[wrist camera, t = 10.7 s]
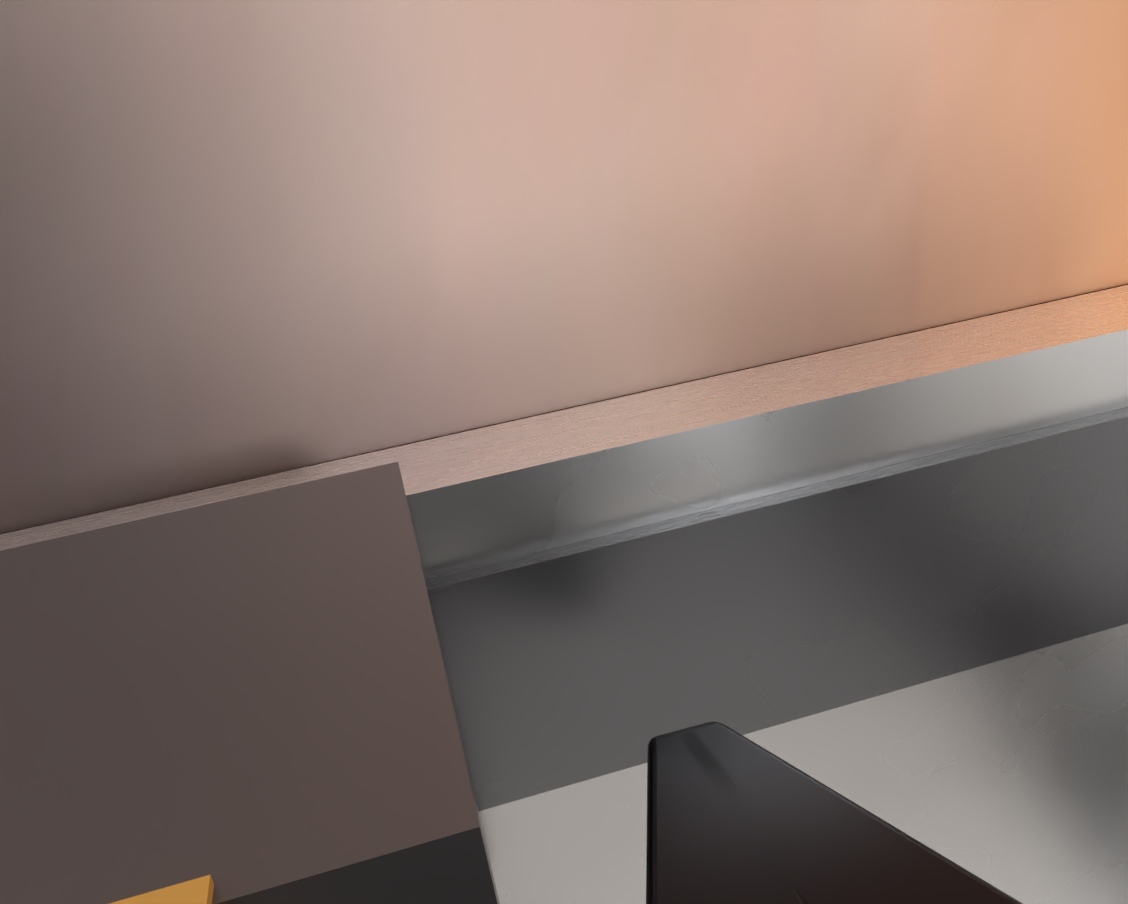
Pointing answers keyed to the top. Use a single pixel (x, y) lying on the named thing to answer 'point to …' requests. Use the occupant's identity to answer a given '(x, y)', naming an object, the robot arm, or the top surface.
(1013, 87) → the top surface
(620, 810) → the panel
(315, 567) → the block
